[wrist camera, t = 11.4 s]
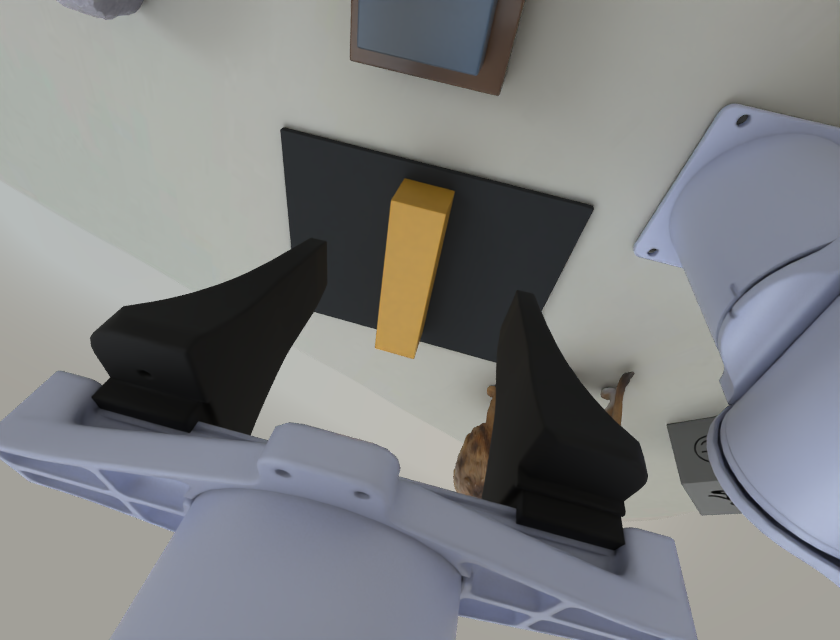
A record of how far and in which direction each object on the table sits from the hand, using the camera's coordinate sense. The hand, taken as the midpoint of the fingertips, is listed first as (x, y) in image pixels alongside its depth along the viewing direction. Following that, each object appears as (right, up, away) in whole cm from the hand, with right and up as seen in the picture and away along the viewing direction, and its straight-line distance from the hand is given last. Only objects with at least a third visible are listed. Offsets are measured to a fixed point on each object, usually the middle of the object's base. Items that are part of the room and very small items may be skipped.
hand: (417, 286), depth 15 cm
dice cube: (+24, -10, +17) cm, 31 cm away
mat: (0, +3, +12) cm, 13 cm away
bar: (0, +2, +12) cm, 12 cm away
